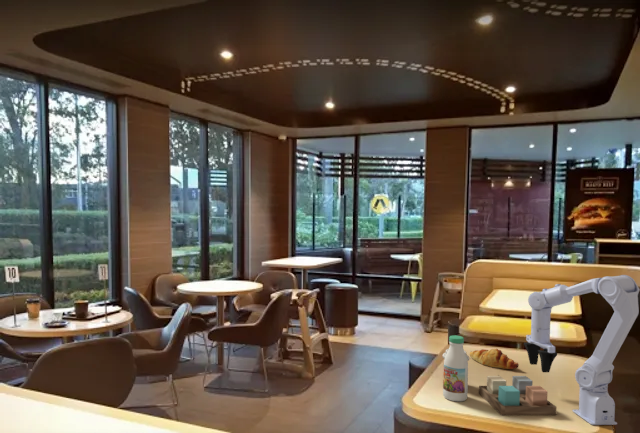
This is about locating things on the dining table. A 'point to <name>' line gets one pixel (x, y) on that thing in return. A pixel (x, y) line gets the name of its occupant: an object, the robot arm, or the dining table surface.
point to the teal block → (509, 396)
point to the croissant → (493, 359)
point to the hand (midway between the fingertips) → (539, 368)
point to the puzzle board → (530, 397)
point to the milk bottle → (455, 371)
